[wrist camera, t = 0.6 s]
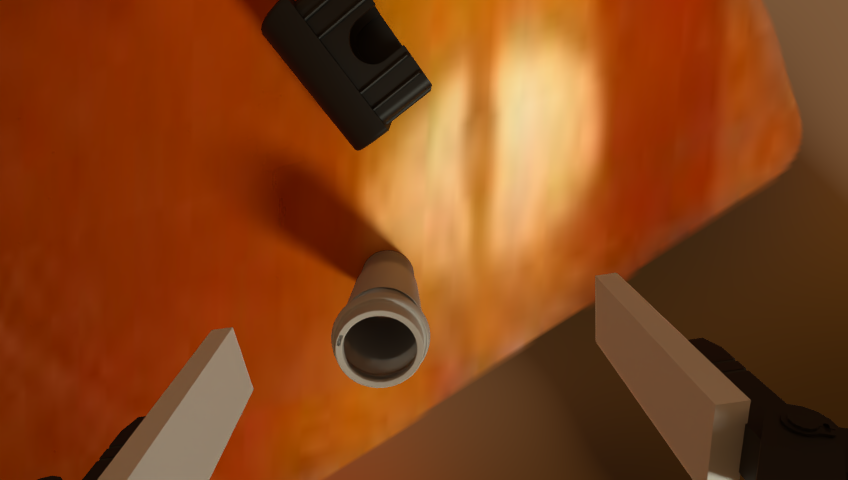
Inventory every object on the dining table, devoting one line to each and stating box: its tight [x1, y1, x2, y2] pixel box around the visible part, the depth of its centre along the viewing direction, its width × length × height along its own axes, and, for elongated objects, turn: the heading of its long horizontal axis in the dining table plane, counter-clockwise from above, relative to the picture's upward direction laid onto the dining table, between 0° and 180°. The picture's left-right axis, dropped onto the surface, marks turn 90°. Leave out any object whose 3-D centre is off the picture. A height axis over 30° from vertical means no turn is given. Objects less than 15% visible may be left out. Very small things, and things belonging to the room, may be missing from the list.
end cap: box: [261, 0, 432, 150], centre depth 31 cm, size 10×7×7 cm
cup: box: [331, 250, 430, 388], centre depth 35 cm, size 7×7×12 cm
